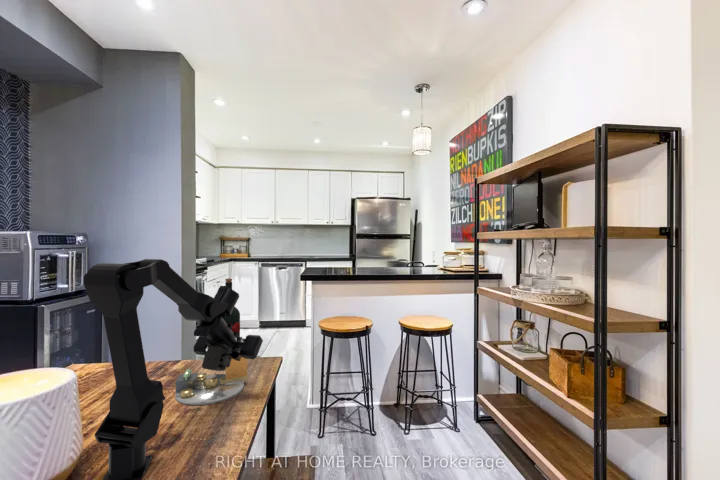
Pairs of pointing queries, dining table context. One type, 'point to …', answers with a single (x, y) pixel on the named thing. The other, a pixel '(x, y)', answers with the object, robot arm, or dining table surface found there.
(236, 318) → the wine bottle
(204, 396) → the levelling plate
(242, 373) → the lever
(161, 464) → the dining table surface
